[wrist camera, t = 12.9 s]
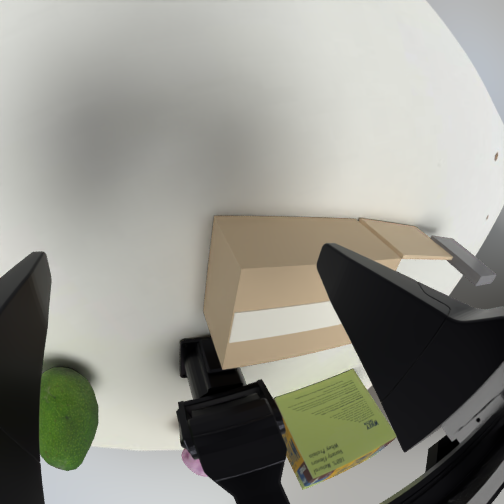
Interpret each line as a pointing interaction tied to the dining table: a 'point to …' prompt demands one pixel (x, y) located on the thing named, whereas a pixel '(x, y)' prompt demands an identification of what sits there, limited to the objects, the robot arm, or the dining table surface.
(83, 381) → the fruit
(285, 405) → the protein box
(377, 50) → the dining table surface
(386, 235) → the grey and tan blocks
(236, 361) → the carton
